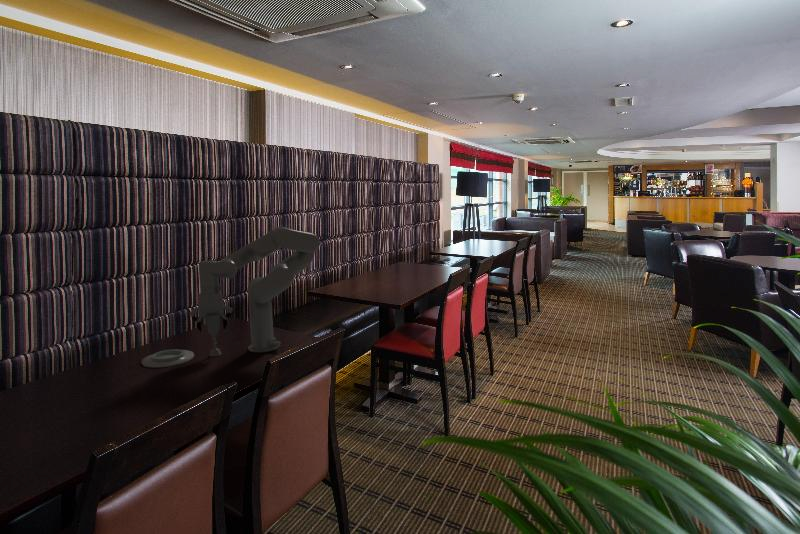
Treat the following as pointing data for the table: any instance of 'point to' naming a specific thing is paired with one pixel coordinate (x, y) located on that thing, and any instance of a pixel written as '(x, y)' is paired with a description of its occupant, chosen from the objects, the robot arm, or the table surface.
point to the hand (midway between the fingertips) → (212, 329)
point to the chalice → (213, 331)
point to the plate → (158, 365)
